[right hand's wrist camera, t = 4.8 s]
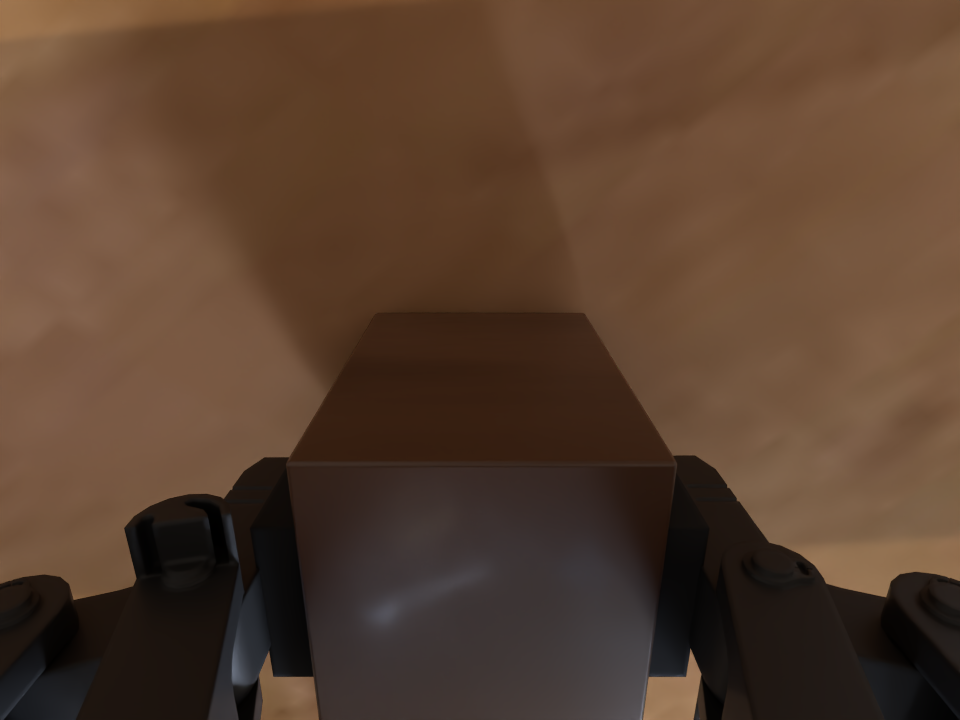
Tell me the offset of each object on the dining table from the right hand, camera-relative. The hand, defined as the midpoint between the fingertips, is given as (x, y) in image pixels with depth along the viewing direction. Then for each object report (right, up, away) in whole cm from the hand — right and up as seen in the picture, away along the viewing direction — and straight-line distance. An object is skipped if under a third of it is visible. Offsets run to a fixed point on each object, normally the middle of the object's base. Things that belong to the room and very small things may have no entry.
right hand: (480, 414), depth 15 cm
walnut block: (0, 0, 0) cm, 0 cm away
